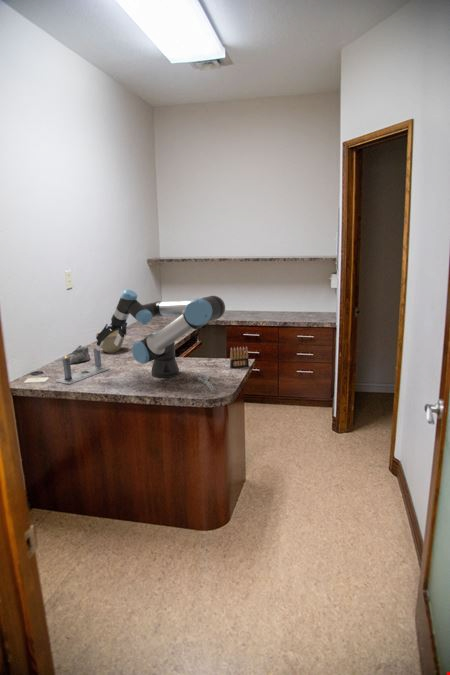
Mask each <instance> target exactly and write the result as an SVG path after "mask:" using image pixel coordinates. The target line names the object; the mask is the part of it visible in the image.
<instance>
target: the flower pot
mask: <svg viewBox="0 0 450 675" xmlns="http://www.w3.org/2000/svg"><path fill="white" fill-rule="evenodd" d="M99 334H100V332H97V333H96V334H95V338H96V337H97V336H98V335H99ZM118 334H119V332H118V331H114V332H113V333H110V334H109V335H108V336H107V337H106V338H105V339H104V340H103V344H102V346H101V348H100V349H102V350H103V351H104V352H105V353H108V354H109V353H110V354H112V353H116V352H119V350H120V349H121V347H122V345H123V344H124V339H125V336H124V337H122V338H121V340H120V342H119V344H118V346H116V345H115V344H114V341H115V339H116V337H117V335H118ZM96 342H98V340H97V339H96Z"/></svg>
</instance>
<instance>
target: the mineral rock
mask: <svg viewBox="0 0 450 675" xmlns="http://www.w3.org/2000/svg"><path fill="white" fill-rule="evenodd" d="M68 356H69V358H70V364H71V363H81V362H84V361H90V360H91V356H90V354H89V347H88V346H87V345H78V346H77V347H76V349H74V350H73V351H72V352H71V353H70V354H69V355H68Z"/></svg>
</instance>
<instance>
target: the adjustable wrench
mask: <svg viewBox="0 0 450 675" xmlns="http://www.w3.org/2000/svg"><path fill="white" fill-rule="evenodd" d="M202 376H203V377H200V376H197V382H200V383H203V382H204V383H205V384H206V385H205V384H204V383H203V384H204V385H205V386H206V387H207V388H209V389H208V390H209V391H210V393H212V394H217V393H218V389H217V388H215V386H214V385H213V383H211V382H210V376H209V375H202ZM208 380H209V381H208ZM216 392H217V393H216Z"/></svg>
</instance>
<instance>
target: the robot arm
mask: <svg viewBox="0 0 450 675" xmlns="http://www.w3.org/2000/svg"><path fill="white" fill-rule="evenodd" d="M137 299H138V294H137V293H136V292H135V291H133V290H132V289H125V290H123V291H122V294H121V295H120V298H119V301H118V302H117V305H116V308H115V309H114V312H113V314H112V316H111V318H110V321H111V323H110V324H108V323H106V324H105V325H104V326H103V328H102V330H101V331H100V332H99V333H100V334H99V335H98V336H97V337H96V336H95V339H96V345H95V346H96V347H95V348H96V349H97V350H98V351H100V352H101V349H102V348H101V346H102V344H103V340H104V339H105V338H106V337H107V336H108V335H109V334H110V333H113V332H114V331H118V332H119V334H118V335H117V337H116V339H115V341H114V344H115V345H116V346H118V344H119V342H120V340H121V338H122V337H124V338H125V336H126V335H127V326H128V323H127V320H128V319H129V316H130V315H131V316H132V317H133V318H134V319H135V320H136V321H137V322H139V324H141V325H147V324H148V323H150V321H151V320H152V319H153V318H155V317H167V316H178V317H177V318H176V319H174V320H173V321H171V322H170V323H168V324H167V325H166V326H165V327H163V328H162V329H160V330H159V331H155V332H154V331H153V332H152V333H150V334H148V335H146V336H145V337H144V338H143V339H141V340H137V341H136V342H134V343H133V344H132V347H131V350H132V351H131V352H132V356H133V358H134V360H135V361H136V362H137V363H140V364H148V363H150V362H153V363H152V367H151V371H150V373H151V376H152V377H156V378H170V377H175V376H177V375H179V374H180V368H179V365H178V362H177V360H176V346H175V342H176V341H178V340H179V339H181V338H182V337H183V336H185V335H186V334H188V333H189V332H191V331H192V330H200V329H201V328H202V327H203V326H205V325H207V324H208V323H210V322H213V321H216V320H218V319H220V318H221V317H223V316H224V314H225V312H226V304H225V301H224V300H223V299H222V298H221V297H219V296H217V295H210V296H206V297H202V298H196V299H190V300H189V299H187V300H186V299H185V300H171V301H169V300H167V301H162V300H159V301H154V302H151V303H145V304H141V302H139V301H138V300H137ZM97 340H98V341H97Z"/></svg>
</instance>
